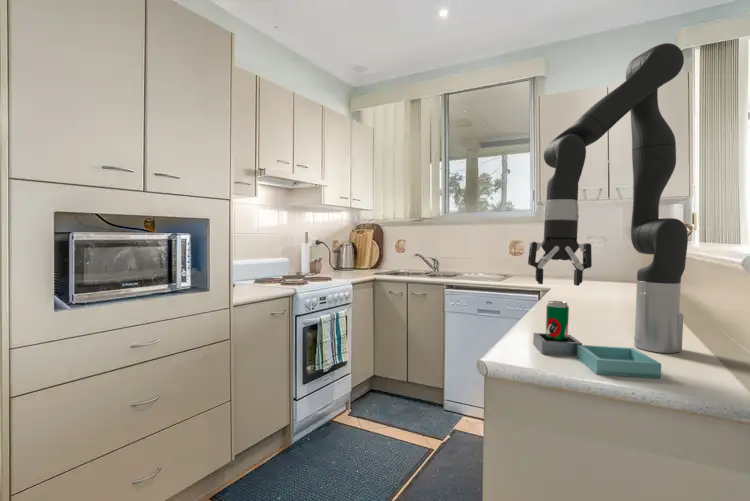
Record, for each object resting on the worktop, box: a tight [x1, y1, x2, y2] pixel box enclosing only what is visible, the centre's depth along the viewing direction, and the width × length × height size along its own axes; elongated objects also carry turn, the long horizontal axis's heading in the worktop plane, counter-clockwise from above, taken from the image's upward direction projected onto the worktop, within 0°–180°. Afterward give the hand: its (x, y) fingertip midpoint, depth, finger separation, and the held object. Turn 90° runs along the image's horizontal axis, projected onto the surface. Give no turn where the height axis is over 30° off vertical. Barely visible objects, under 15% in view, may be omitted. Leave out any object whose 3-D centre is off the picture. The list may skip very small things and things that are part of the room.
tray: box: [576, 344, 662, 379], centre depth 89 cm, size 12×12×3 cm
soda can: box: [545, 300, 570, 342], centre depth 102 cm, size 5×5×12 cm
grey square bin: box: [532, 332, 583, 357], centre depth 102 cm, size 9×9×3 cm
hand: (558, 284), depth 102 cm, fingers open, 8 cm apart
